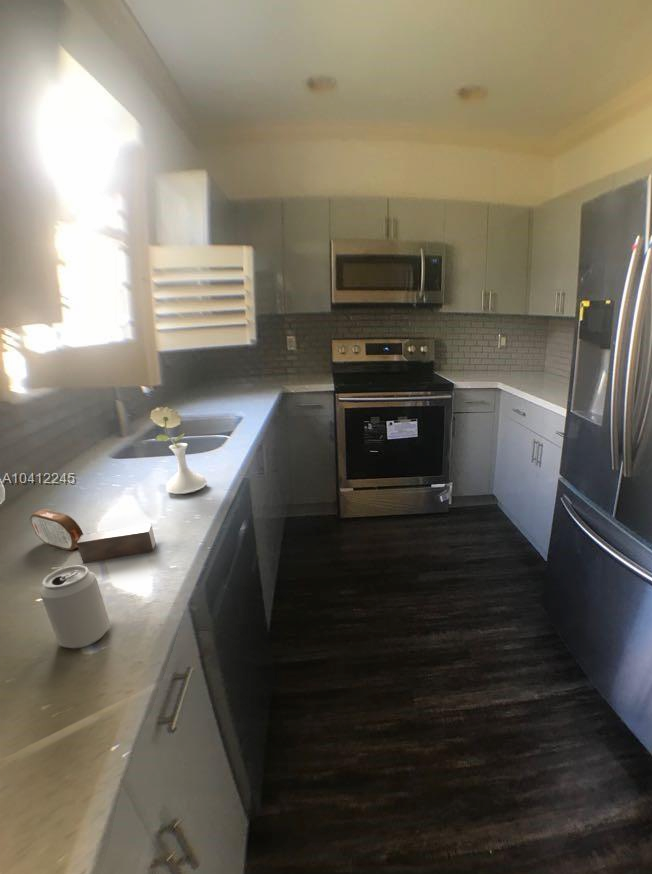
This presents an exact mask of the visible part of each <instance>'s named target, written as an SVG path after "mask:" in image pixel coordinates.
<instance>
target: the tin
mask: <svg viewBox="0 0 652 874" xmlns="http://www.w3.org/2000/svg"><path fill="white" fill-rule="evenodd" d="M29 522H30V524H31V526H32V528H33V530H34V533H35V534H36V536H37V537H38V538H39V540H41V541H42V542H43V543H45V544H47V545H49V546H52V547H55V548H60V549H62V550H67V551H73V550H75V549H76V548H78V546H77V541H78V540H79V538H80V537H81V535H83V534H84V532H83V531H82V529H81V526H80V525H79V524H78V522H77V521H76V520H75V519H74V518H73V517H72V516H70V515H69V514H66V513H62V512H58V511H55V510H52V509H47V508H41V509H40V510H38V511H37V512H34V513H32V514H31V515H30V517H29Z"/></svg>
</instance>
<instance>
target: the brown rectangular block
mask: <svg viewBox="0 0 652 874" xmlns="http://www.w3.org/2000/svg"><path fill="white" fill-rule="evenodd" d="M154 533H155V532H154V530H153V525H152V523H147V524H142V525H135V526H129V527H122V528H117V529H116V528H115V529H110V530H103V531H96V532H89V533H83V535H81V537H80V538H79V540H78V541H77V546H78V547H77V549H78V552H79V556H80V558H81V561H82V564H87V563H92V562H93V563H94V562H99V561H104V560H111V559H115V558H122V557H128V556H134V555H139V554H145V553H151V552H155V548H156V544H157V542H156V538H155V534H154Z"/></svg>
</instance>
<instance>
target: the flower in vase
mask: <svg viewBox="0 0 652 874" xmlns="http://www.w3.org/2000/svg"><path fill="white" fill-rule="evenodd" d="M149 419H150V420H151V421H152V422H153V423H155V424H156V426H159V427H161V428H163V427H164V429H165V430H164V431H165V434H162V433H160V434H157V436H155V439H154V441H162V442H167V441H168V439H169V440H170V441H171V442H172V443H173V444H171V445H169V446H168V449H170V450H171V451H172V452H173V454H174V455H175V458H176V460H177V467H178V469H177V471H176V473H175V474H174V475H173V476H171V478H170V479H169V480H168V481H167V483H166V484H165V490H166V491H167V492H168V493H170V494H175V495H184V494H189V493H195V492H197V491H198V490H201V489H203V488H204V487H206V485H207V482H208V480H207V479H206V477H204V476H202V475H201V474H199V473H197V472H195V471H193V470H191V469H190V468H189V467H188V464H187V459H186V450H187V447H188V445H189V444H188V443H186V442H178V441H180V440H181V439H183V437H184V436H185V434H186V432H184V433H182V434H180V435H178V436H177V437H176V438H175V439H174V440H173V439H172V438H171V437H170V436H169V434H168V429H169V428H170V429H173V428H174V427H175V428H176V427H178V426H181V422H182V417H181V415H180V414H179V412H178V411H176V410H175V409H173V408H172V409H171V408H170V407H168V406H166V407H164V406H159V407H158V406H157V407H155V409H152V410H151V411H150V417H149ZM177 442H178V443H177Z"/></svg>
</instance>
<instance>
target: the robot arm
mask: <svg viewBox="0 0 652 874" xmlns="http://www.w3.org/2000/svg"><path fill="white" fill-rule="evenodd" d="M5 500H6V490H5V486H4V484H3V481H2V479H1V478H0V505H1V504H2V503H4V502H5Z"/></svg>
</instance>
